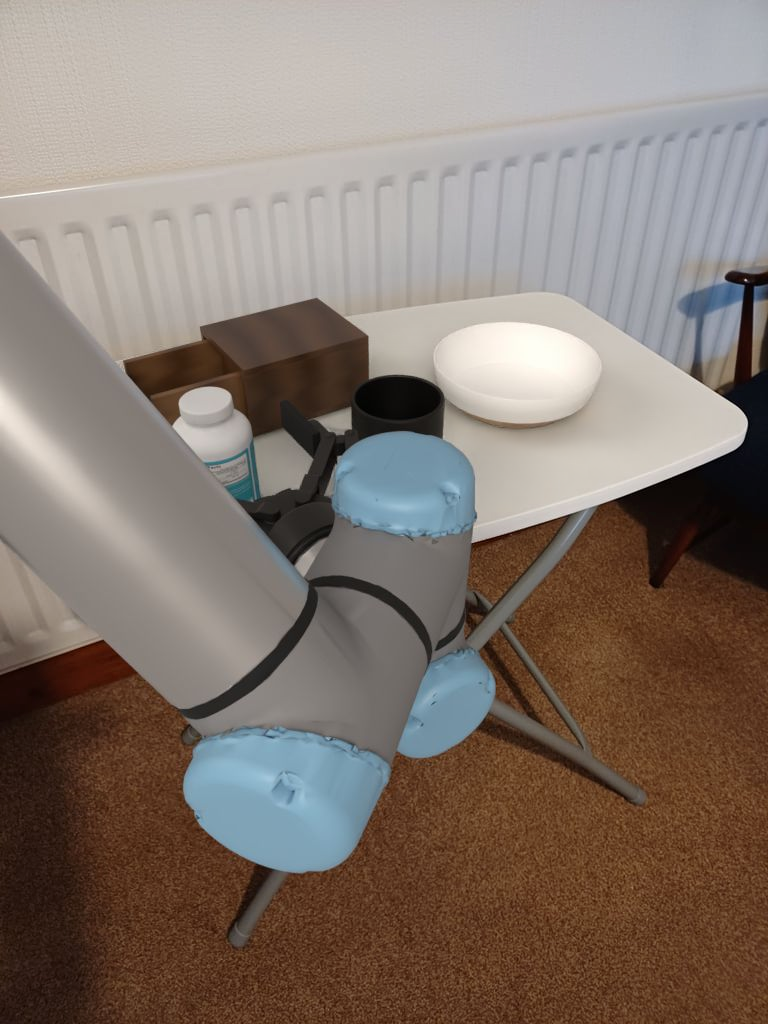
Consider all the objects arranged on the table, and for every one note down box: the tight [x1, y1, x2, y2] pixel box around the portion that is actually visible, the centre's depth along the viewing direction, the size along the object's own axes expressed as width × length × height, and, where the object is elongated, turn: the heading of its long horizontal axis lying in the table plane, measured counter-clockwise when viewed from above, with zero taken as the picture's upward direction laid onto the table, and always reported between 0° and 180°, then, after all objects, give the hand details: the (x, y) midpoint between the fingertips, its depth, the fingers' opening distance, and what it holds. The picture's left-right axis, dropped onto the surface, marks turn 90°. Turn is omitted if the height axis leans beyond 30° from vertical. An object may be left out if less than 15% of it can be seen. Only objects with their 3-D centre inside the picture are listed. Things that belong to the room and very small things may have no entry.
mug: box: [350, 374, 446, 441], centre depth 82 cm, size 9×12×9 cm
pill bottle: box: [172, 387, 262, 502], centre depth 74 cm, size 8×7×14 cm
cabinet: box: [199, 297, 370, 438], centre depth 94 cm, size 16×13×9 cm
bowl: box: [432, 321, 603, 429], centre depth 93 cm, size 20×20×6 cm
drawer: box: [122, 339, 247, 426], centre depth 87 cm, size 20×11×7 cm, turn 122°
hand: (216, 433), depth 71 cm, fingers open, 13 cm apart
